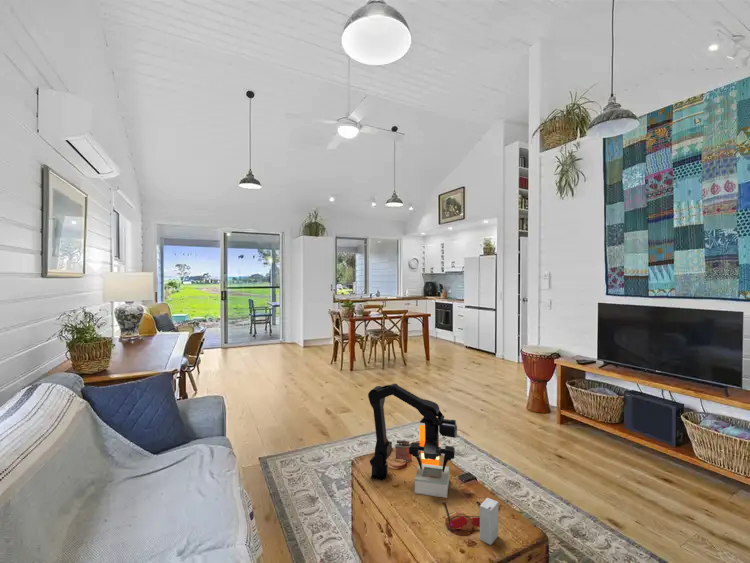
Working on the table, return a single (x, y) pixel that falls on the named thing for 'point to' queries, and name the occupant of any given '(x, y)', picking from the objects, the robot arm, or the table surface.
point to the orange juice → (422, 442)
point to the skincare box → (489, 521)
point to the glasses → (463, 520)
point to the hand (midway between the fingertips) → (432, 470)
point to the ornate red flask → (403, 450)
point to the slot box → (432, 480)
